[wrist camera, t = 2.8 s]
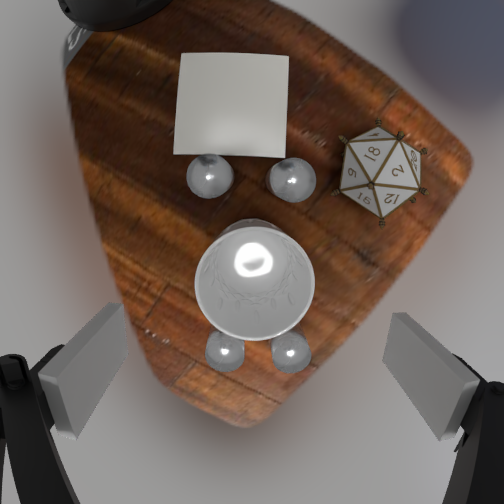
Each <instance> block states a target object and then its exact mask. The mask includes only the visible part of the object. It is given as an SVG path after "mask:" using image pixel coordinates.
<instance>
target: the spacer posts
mask: <svg viewBox="0 0 504 504" xmlns="http://www.w3.org/2000/svg"><path fill="white" fill-rule="evenodd" d="M234 178H235V175H234V171H233V169H232V167H231V166H230V165H229V163H228V162H227V161H226V160H225V159H224V158H222V157H221V156H219V155H216V154H203V155H200V156H198V157H197V158H195V159H194V160H193V161H192V162H191V164H190V165H189V167H188V170H187V183H188V185H189V187H190V189H191V190H192V192H194V193H195V194H196V195H198V196H199V197H202V198H215V197H218V196H220V195H222V194H223V193H225V192H226V191H228V190H229V189H230V188H231V186H232V185H233V183H234ZM265 183H266V186H267V188H268V190H269V191H270V192H271V193H272V194H273V195H275V196H277V197H279V198H281V199H283V200H285V201H288V202H301V201H303V200H305V199H307V198H308V197H309V196H310V195H311V194H312V193H313V191H314V189H315V186H316V175H315V172H314V170H313V168H312V167H311V165H310V164H309V163H307V162H306V161H304V160H302V159H299V158H288V159H285V160H283V161H281V162H279V163H277V164H275V165H273V166H272V167H270V169H269V170H268V171H267V173H266V177H265ZM270 345H271V352H272V358H273V363H274V365H275V367H276V368H277V369H278V370H280V371H282V372H285V373H296V372H299V371H301V370H303V369H304V368H305V367H306V366H307V365H308V364H309V362H310V360H311V351H310V348H309V345H308V343H307V340H306V337H305V335H304V332H303V329H302V327H301V324H300V321H299V322H298V323H297V324H296V325H295V326H294V327H293V328H291V329H290V330H288V331H287V332H285V333H283V334H281V335H279V336H277V337H274V338H270ZM205 358H206V361H207V363H208V364H209V365H210V366H211V367H212V368H214V369H216V370H218V371H222V372H229V371H233V370H235V369H237V368H239V367H240V366H241V365H242V363H243V361H244V340H242V339H238V338H235V337H232V336H229V335H227V334H225V333H223V332H222V331H220V330H219V329H217V328H216V327H215V326H214V325H212V324H211V327H210V332H209V337H208V341H207V346H206V351H205Z"/></svg>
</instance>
